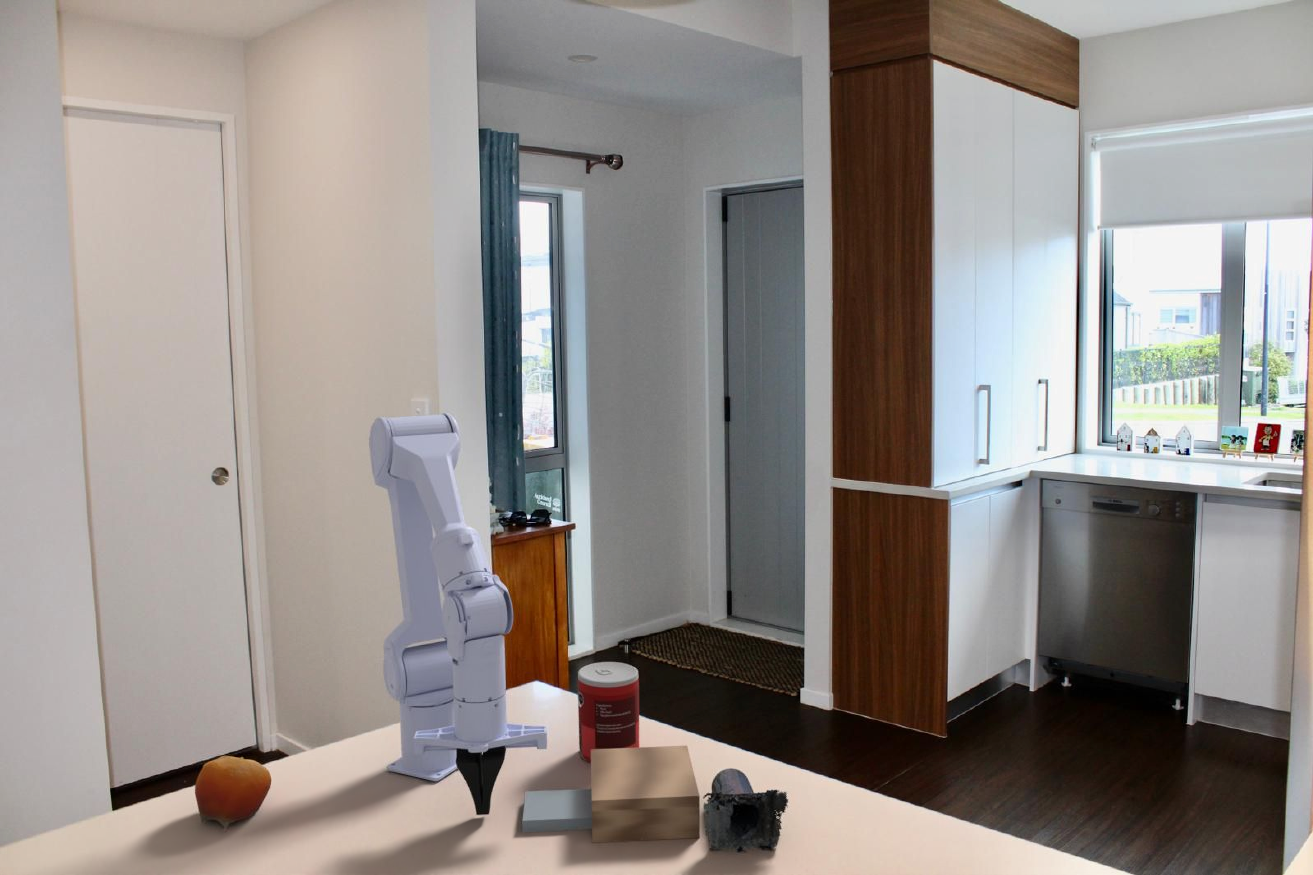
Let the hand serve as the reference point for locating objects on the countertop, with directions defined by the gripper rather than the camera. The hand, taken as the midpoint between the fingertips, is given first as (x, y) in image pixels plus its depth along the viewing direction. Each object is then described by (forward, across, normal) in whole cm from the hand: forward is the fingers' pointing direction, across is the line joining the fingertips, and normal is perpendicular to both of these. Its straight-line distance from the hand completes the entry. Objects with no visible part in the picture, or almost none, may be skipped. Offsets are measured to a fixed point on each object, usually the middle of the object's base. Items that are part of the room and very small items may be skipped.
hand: (483, 810), depth 113 cm
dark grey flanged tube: (+1, +28, -4) cm, 28 cm away
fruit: (+1, -28, +4) cm, 29 cm away
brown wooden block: (+1, +18, 0) cm, 18 cm away
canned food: (+1, +15, +16) cm, 21 cm away
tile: (+1, +11, 0) cm, 11 cm away
